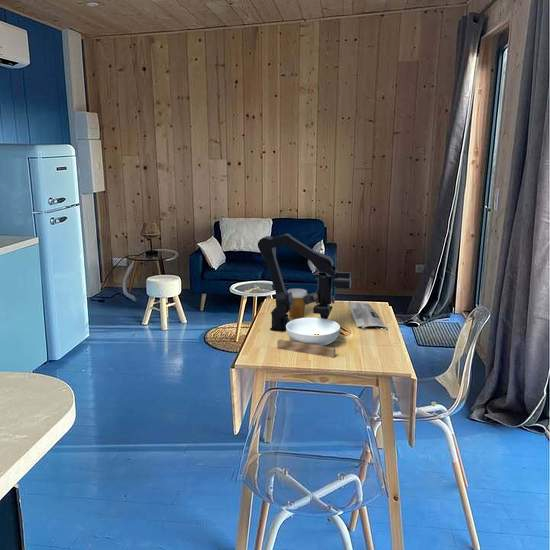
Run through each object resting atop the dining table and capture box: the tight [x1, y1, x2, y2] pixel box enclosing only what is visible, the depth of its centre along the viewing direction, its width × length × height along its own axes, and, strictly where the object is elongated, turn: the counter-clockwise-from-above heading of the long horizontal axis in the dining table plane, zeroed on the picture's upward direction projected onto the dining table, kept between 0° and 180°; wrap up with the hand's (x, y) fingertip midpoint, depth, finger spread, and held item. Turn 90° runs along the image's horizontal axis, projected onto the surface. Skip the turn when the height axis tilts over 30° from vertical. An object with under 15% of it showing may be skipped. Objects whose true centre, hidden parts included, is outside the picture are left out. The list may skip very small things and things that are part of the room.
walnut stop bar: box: [277, 339, 336, 359], centre depth 192 cm, size 22×2×3 cm, turn 66°
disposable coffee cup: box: [287, 288, 309, 320], centre depth 233 cm, size 10×10×12 cm
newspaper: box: [347, 300, 388, 331], centre depth 234 cm, size 35×12×4 cm, turn 2°
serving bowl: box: [286, 317, 341, 346], centre depth 202 cm, size 21×21×7 cm
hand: (323, 324), depth 213 cm, fingers closed
